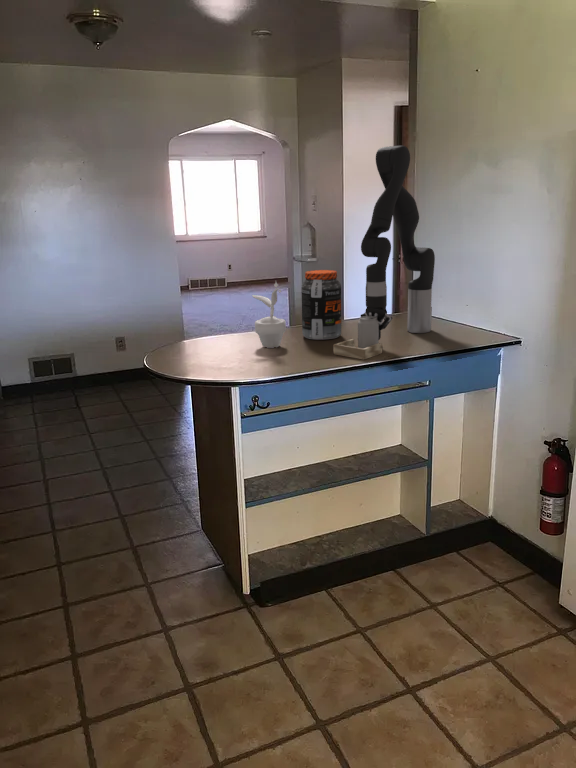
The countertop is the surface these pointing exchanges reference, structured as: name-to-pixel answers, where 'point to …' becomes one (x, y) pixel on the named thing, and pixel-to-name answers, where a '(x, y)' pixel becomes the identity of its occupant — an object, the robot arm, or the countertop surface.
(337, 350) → the tray
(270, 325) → the potted plant
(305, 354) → the countertop surface
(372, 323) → the can
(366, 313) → the robot arm
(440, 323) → the countertop surface
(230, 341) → the countertop surface
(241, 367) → the countertop surface
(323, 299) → the supplement tub
